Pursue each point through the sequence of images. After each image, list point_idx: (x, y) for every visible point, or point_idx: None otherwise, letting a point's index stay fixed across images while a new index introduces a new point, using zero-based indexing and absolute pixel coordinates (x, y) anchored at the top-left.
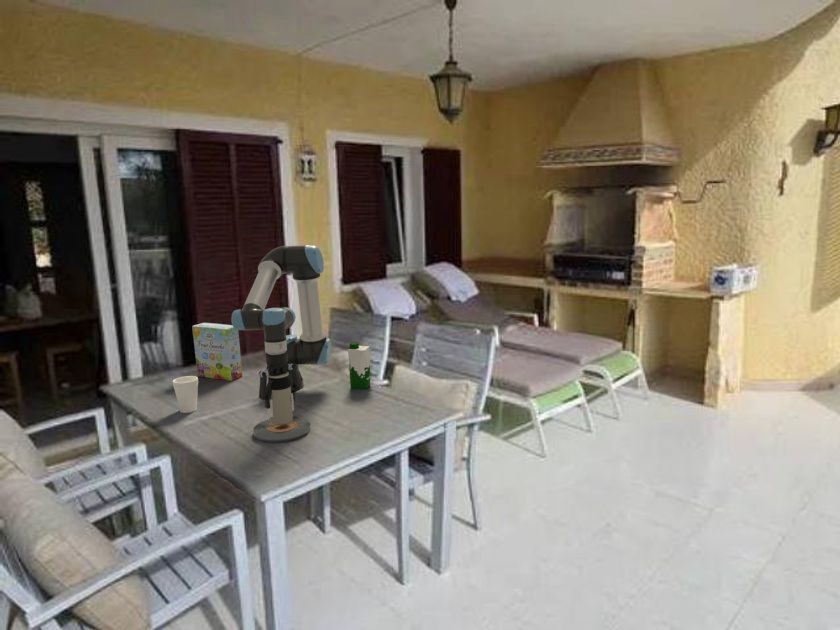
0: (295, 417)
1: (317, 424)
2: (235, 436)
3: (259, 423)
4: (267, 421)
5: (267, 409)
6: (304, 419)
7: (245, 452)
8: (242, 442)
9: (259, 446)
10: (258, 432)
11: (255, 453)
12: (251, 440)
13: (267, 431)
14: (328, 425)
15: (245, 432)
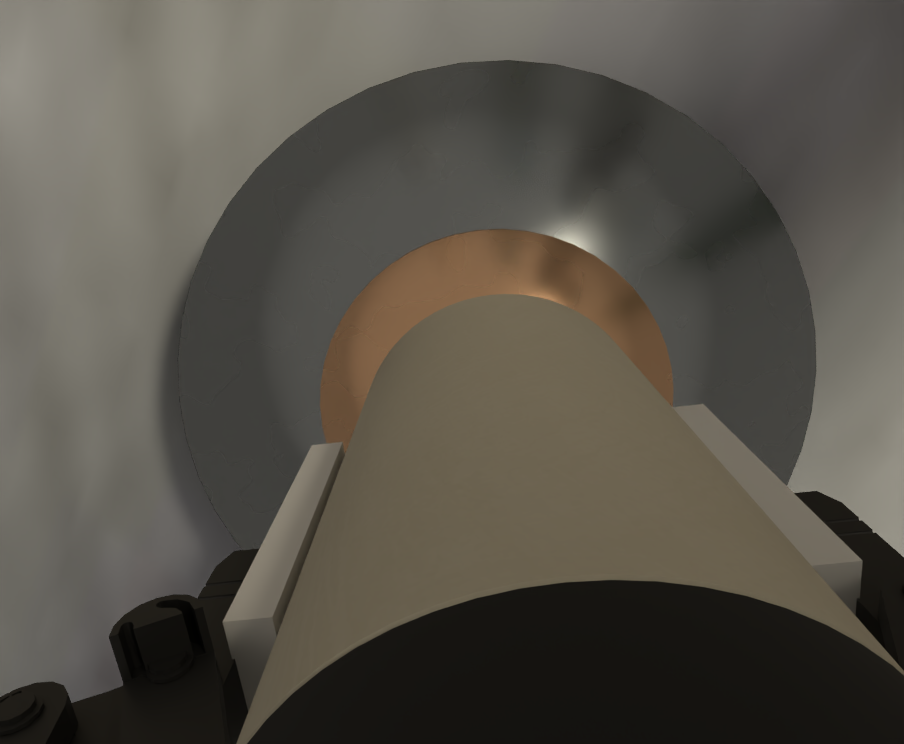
0: (764, 263)
1: (851, 463)
2: (35, 148)
3: (331, 122)
4: (439, 133)
5: (290, 500)
6: (793, 397)
7: (32, 575)
8: (62, 358)
9: (174, 546)
10: (218, 384)
11: (100, 642)
12: (153, 374)
13: (308, 426)
14: (900, 554)
15: (165, 115)
